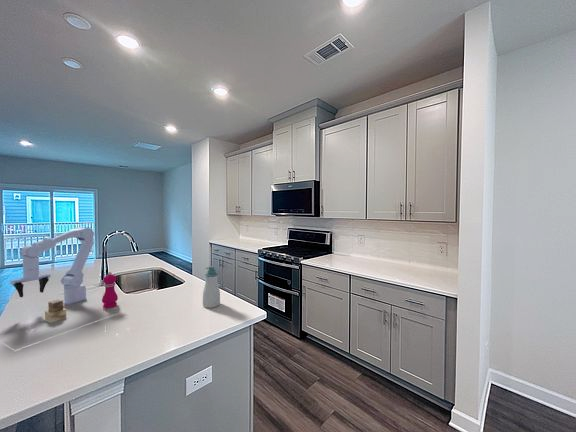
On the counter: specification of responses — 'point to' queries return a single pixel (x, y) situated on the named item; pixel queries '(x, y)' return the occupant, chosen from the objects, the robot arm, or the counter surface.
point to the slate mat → (53, 321)
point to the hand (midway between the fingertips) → (31, 294)
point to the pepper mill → (109, 291)
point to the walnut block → (55, 305)
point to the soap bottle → (211, 289)
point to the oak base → (55, 315)
